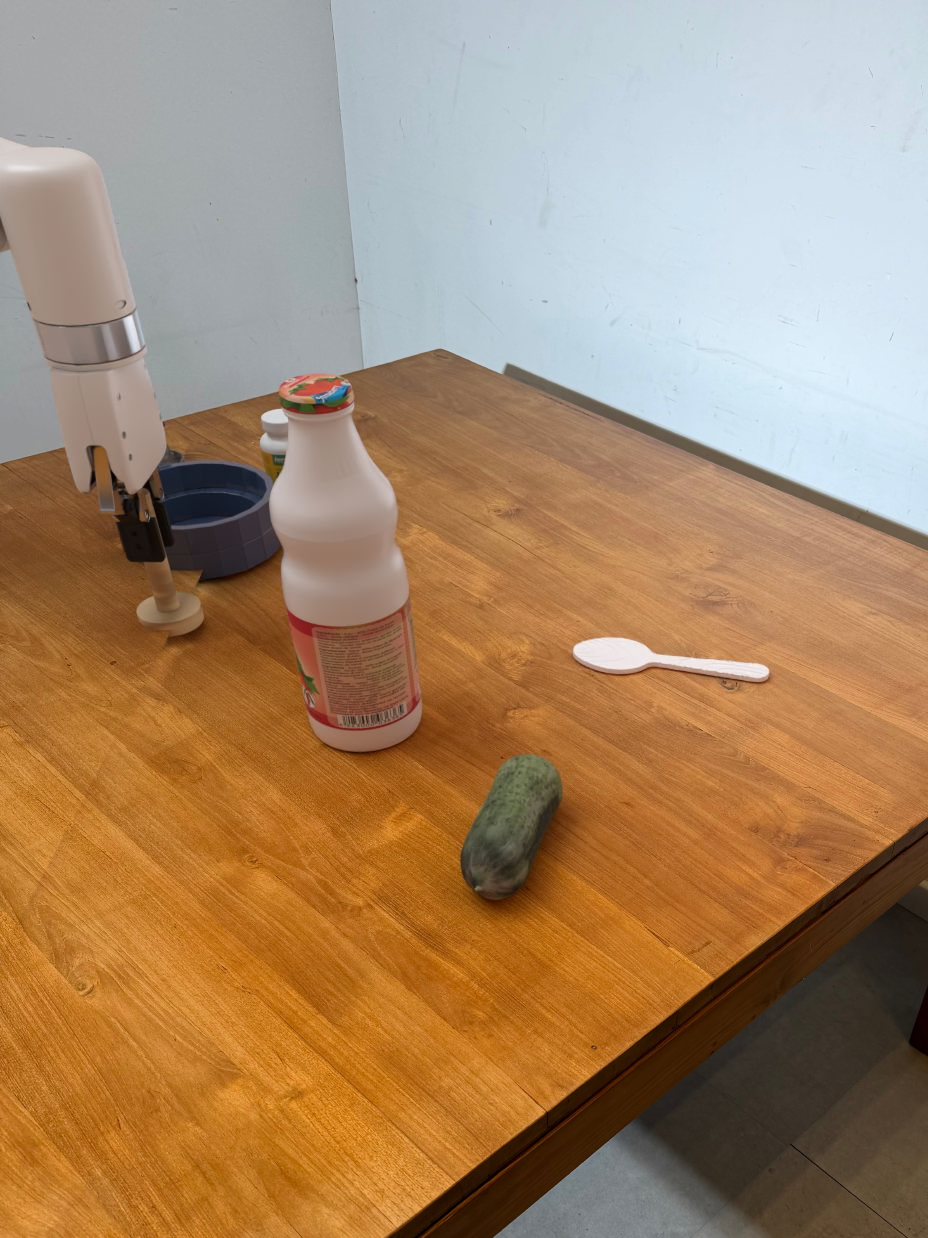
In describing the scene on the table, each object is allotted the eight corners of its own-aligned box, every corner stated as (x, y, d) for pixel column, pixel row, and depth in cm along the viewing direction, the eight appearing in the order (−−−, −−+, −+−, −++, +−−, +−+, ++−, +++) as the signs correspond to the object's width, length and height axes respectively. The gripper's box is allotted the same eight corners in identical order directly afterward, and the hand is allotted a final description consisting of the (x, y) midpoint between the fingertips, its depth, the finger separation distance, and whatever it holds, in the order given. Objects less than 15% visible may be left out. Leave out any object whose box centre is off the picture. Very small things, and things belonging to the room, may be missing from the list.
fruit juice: (384, 767, 90) (332, 422, 71) (286, 736, 93) (212, 396, 74) (444, 706, 97) (412, 374, 78) (352, 678, 99) (299, 352, 81)
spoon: (766, 692, 99) (766, 687, 99) (566, 667, 101) (566, 662, 101) (771, 660, 103) (772, 655, 103) (579, 636, 105) (579, 631, 105)
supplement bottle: (314, 487, 127) (300, 402, 121) (326, 507, 124) (312, 421, 117) (266, 495, 126) (249, 410, 119) (277, 515, 122) (260, 428, 116)
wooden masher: (132, 637, 102) (92, 507, 93) (150, 605, 106) (113, 478, 97) (195, 637, 102) (160, 508, 93) (210, 605, 106) (179, 479, 98)
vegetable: (506, 787, 89) (503, 736, 85) (569, 797, 88) (569, 746, 85) (446, 909, 78) (440, 857, 75) (517, 923, 78) (515, 870, 74)
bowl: (106, 584, 110) (88, 527, 106) (152, 512, 122) (138, 458, 118) (266, 586, 111) (254, 530, 107) (297, 514, 122) (288, 461, 118)
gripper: (77, 302, 93) (136, 511, 105) (1, 372, 81) (78, 598, 93) (169, 304, 93) (217, 512, 105) (107, 373, 81) (169, 599, 93)
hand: (151, 551), depth 99 cm, fingers closed on wooden masher
